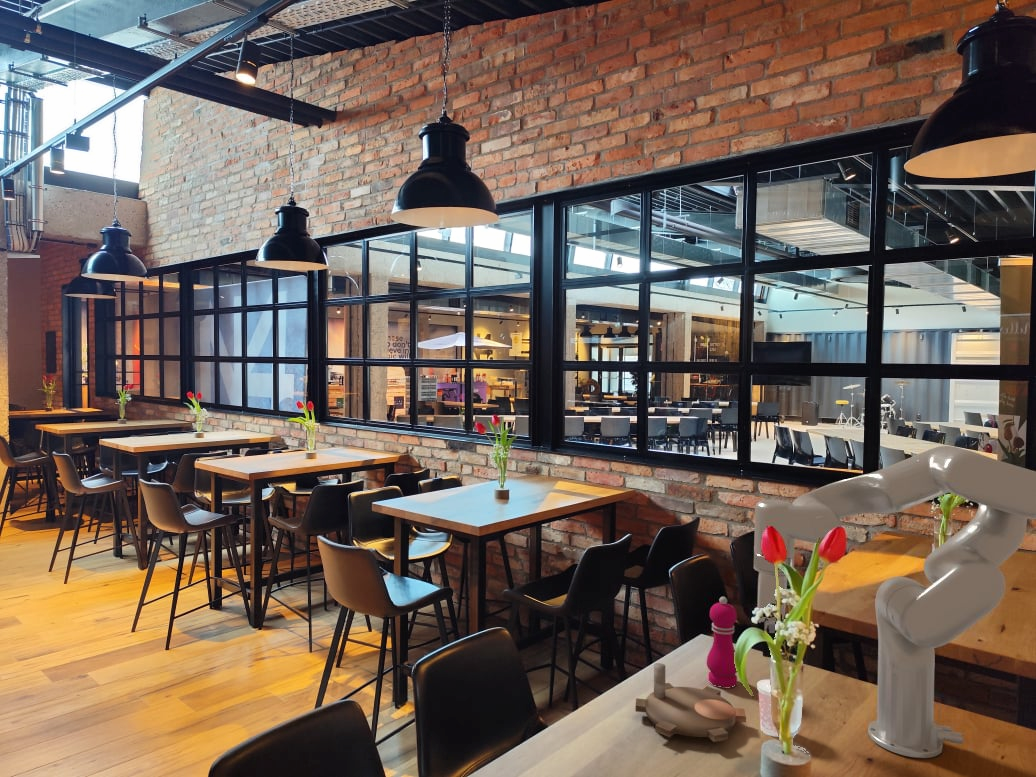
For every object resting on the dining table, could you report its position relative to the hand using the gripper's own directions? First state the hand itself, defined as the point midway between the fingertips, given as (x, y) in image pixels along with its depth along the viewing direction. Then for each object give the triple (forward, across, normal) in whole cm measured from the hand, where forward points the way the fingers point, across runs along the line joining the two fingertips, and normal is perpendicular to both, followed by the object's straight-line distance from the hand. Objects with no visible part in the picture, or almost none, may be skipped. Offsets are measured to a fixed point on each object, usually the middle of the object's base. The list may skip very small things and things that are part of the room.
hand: (771, 647), depth 136 cm
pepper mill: (+17, -18, -10) cm, 27 cm away
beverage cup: (+17, 0, +1) cm, 17 cm away
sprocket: (+15, +2, -15) cm, 22 cm away
